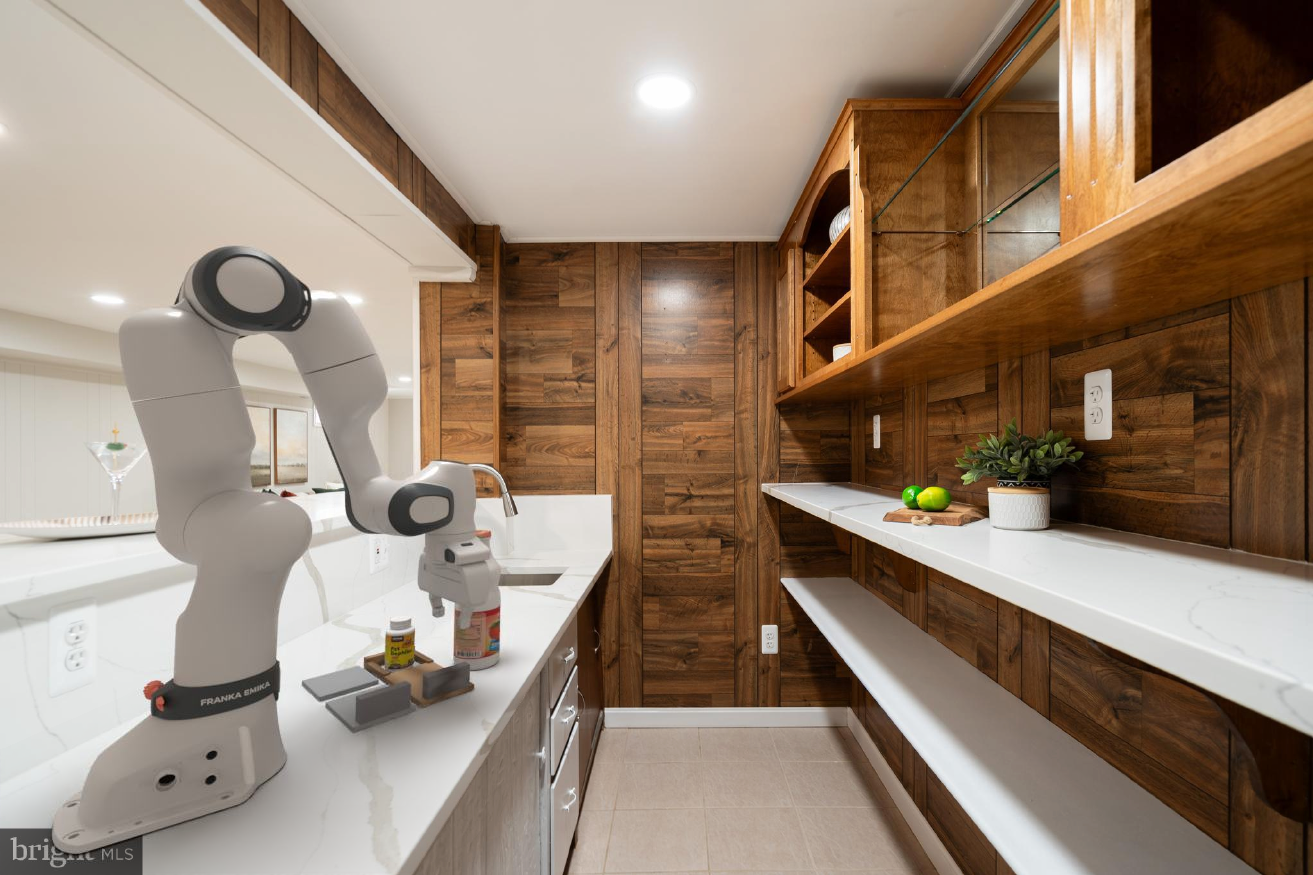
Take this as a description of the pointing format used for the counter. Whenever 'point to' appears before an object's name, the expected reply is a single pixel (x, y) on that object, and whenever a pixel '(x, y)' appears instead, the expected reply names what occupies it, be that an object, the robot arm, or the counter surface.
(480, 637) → the fruit juice
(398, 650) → the supplement bottle
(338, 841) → the counter surface
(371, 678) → the broken grey strip
